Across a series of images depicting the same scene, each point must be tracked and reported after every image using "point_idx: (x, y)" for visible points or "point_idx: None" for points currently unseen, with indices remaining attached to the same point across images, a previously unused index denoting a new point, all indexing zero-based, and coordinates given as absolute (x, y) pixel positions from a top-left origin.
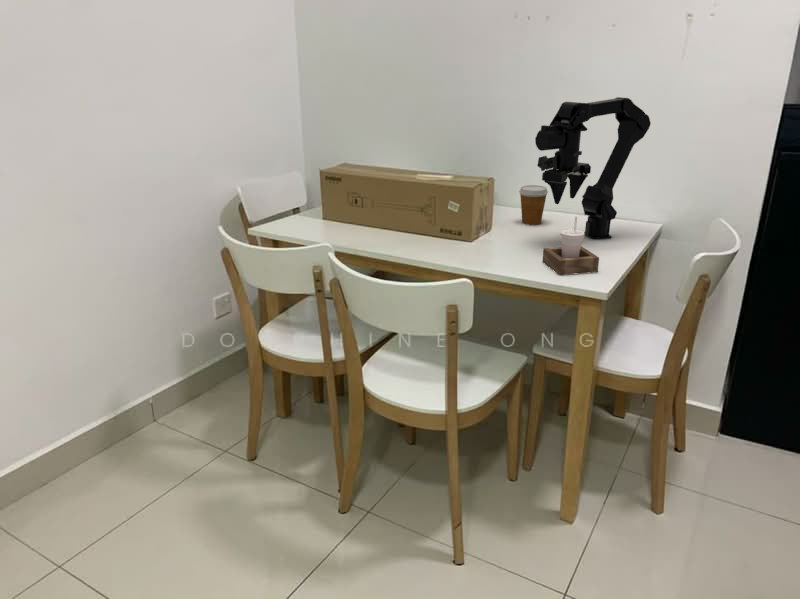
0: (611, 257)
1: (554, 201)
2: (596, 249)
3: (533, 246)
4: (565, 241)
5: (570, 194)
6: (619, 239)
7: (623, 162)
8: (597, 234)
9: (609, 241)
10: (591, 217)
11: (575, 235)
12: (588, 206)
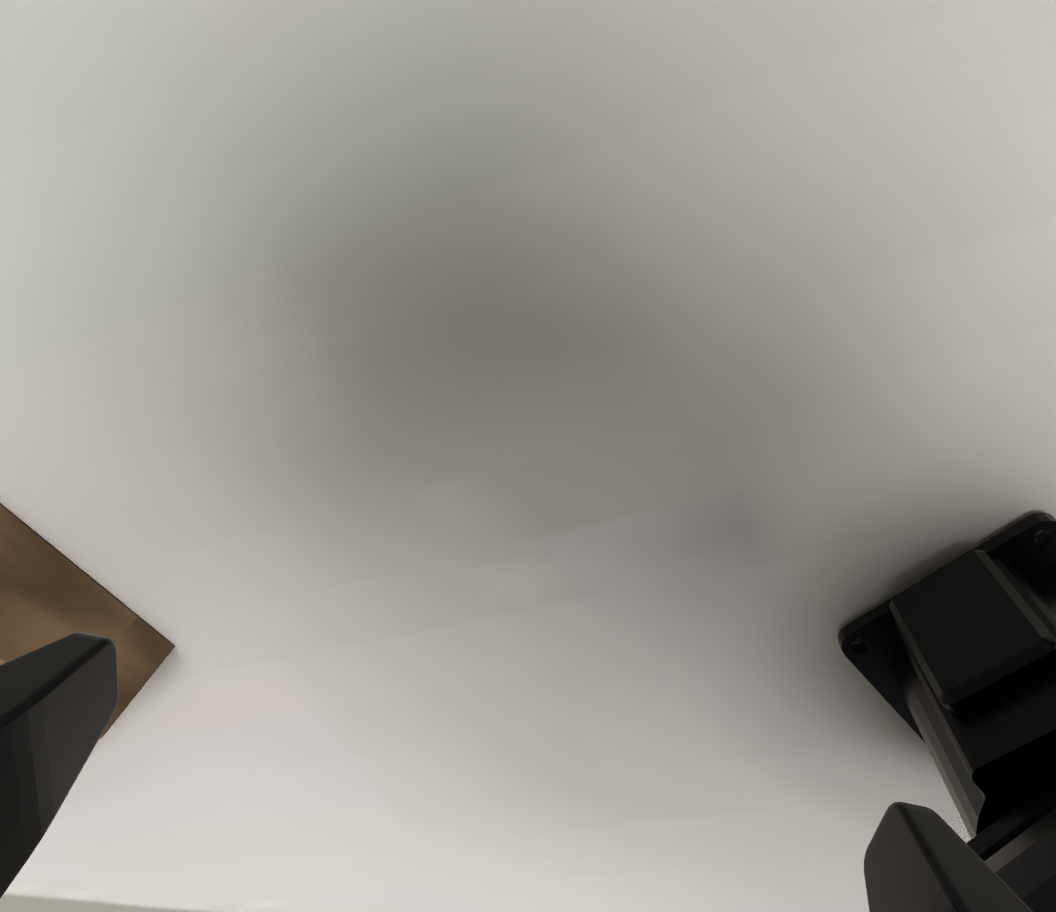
0: (371, 826)
1: (29, 653)
2: (518, 710)
3: (256, 131)
4: None
5: (928, 883)
6: None
7: None
8: (904, 688)
9: (828, 761)
10: (1043, 750)
11: None
12: (1037, 883)
